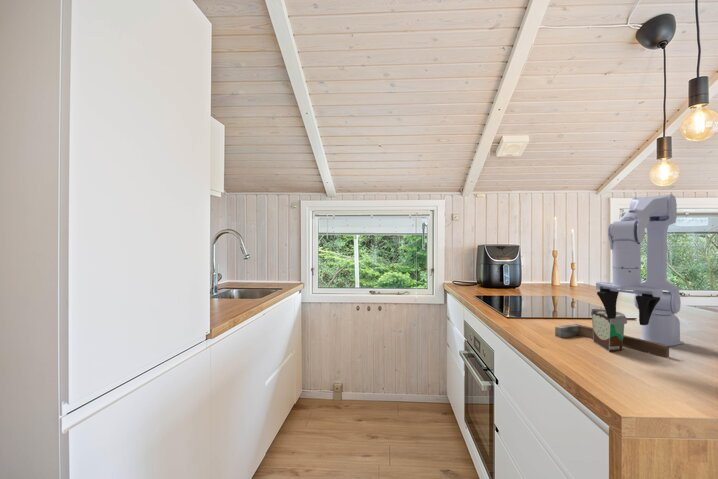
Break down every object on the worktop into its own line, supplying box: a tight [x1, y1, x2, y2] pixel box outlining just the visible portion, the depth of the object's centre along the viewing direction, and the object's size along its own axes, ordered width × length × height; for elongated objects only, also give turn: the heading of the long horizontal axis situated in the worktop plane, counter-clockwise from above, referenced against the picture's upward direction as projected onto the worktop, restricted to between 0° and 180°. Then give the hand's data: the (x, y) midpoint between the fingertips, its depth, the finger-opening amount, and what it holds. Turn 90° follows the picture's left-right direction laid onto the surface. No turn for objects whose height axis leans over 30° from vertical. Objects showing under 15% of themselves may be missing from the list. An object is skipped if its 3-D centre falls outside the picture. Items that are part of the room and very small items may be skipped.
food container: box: [590, 308, 628, 353], centre depth 99 cm, size 12×6×10 cm, turn 168°
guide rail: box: [554, 323, 670, 359], centre depth 101 cm, size 10×26×3 cm, turn 21°
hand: (627, 321), depth 88 cm, fingers open, 7 cm apart
